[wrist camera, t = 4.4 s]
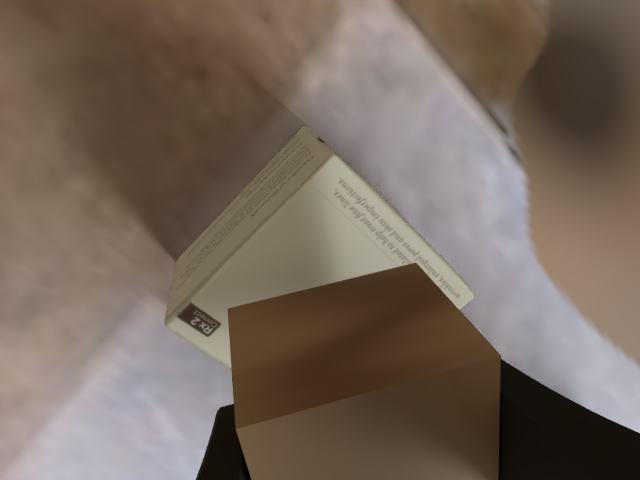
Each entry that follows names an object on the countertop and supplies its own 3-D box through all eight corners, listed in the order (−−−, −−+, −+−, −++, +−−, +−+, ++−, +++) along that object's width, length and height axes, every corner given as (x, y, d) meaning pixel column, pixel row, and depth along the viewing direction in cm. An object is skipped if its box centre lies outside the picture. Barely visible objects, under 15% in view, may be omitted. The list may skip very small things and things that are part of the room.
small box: (425, 241, 21) (483, 299, 17) (302, 355, 22) (325, 439, 18) (305, 118, 18) (336, 147, 13) (169, 259, 19) (155, 331, 15)
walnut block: (415, 262, 12) (500, 355, 9) (426, 404, 15) (497, 524, 11) (227, 308, 12) (235, 429, 8) (266, 450, 14) (287, 594, 10)
